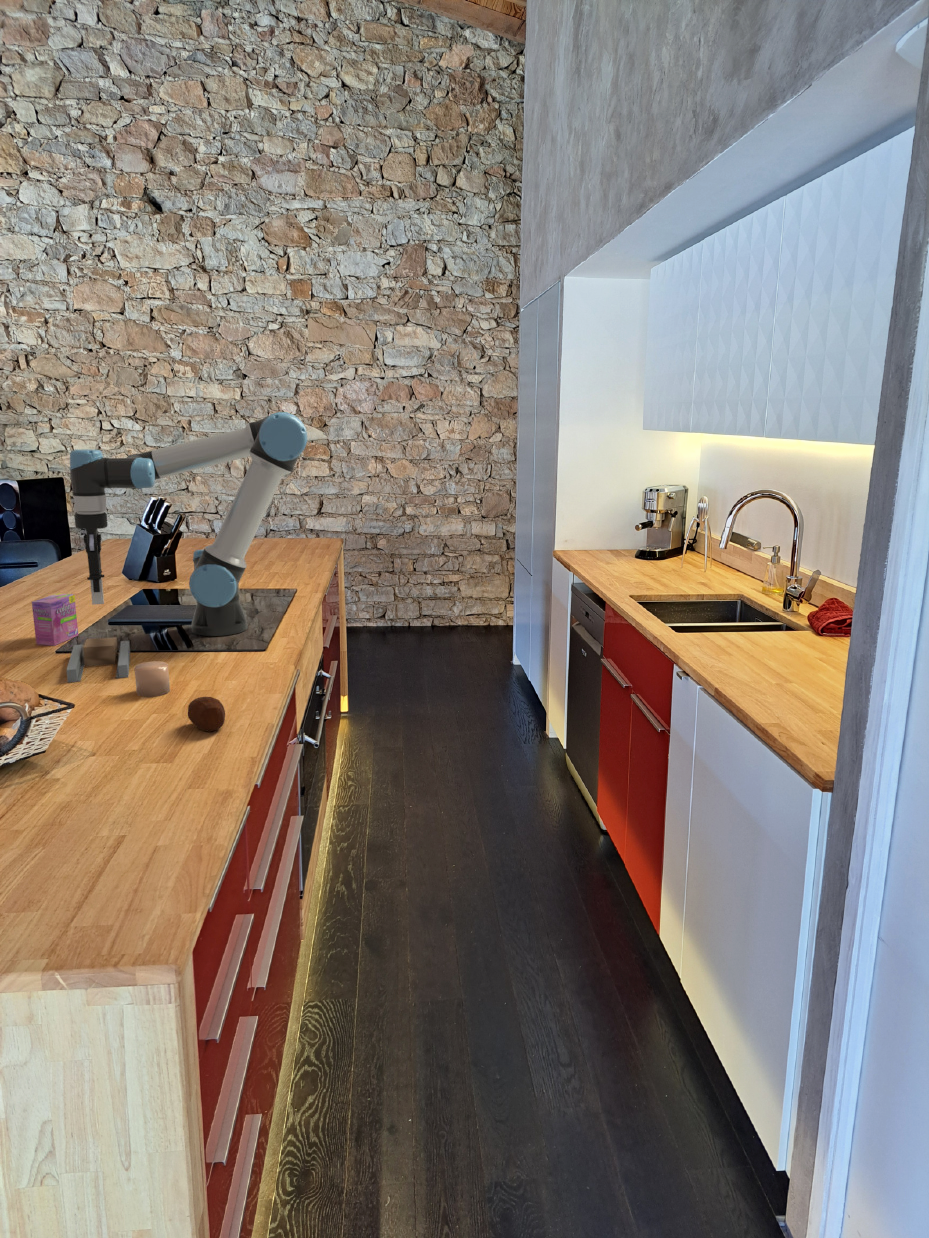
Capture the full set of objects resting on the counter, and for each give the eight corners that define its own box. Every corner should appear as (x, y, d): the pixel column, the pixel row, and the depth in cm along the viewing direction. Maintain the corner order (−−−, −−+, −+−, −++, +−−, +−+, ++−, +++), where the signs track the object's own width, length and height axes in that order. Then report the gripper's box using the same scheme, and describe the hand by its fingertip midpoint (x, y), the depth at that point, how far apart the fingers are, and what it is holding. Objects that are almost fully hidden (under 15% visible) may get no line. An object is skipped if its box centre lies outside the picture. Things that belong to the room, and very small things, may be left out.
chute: (130, 652, 224) (129, 640, 223) (128, 677, 204) (127, 664, 203) (75, 656, 220) (73, 645, 219) (67, 682, 200) (66, 670, 199)
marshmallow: (169, 685, 198) (167, 660, 196) (170, 695, 192) (168, 669, 190) (136, 688, 196) (134, 663, 194) (136, 698, 189) (134, 672, 188)
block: (118, 656, 221) (116, 637, 220) (115, 665, 214) (113, 645, 212) (88, 658, 219) (86, 639, 218) (84, 667, 212) (82, 647, 210)
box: (55, 646, 229) (50, 602, 226) (35, 644, 230) (30, 601, 227) (79, 636, 239) (75, 594, 236) (61, 634, 240) (56, 593, 237)
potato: (194, 738, 168) (191, 706, 166) (184, 722, 176) (182, 692, 174) (230, 732, 171) (228, 701, 169) (220, 717, 179) (218, 687, 177)
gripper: (76, 509, 223) (84, 599, 229) (72, 515, 211) (80, 610, 217) (107, 508, 226) (114, 597, 231) (105, 515, 214) (112, 608, 219)
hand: (98, 603), depth 224 cm, fingers closed
